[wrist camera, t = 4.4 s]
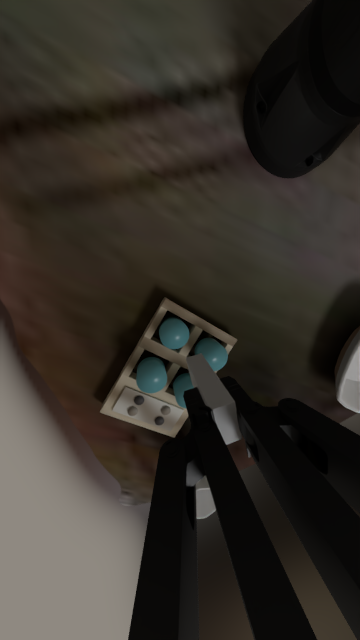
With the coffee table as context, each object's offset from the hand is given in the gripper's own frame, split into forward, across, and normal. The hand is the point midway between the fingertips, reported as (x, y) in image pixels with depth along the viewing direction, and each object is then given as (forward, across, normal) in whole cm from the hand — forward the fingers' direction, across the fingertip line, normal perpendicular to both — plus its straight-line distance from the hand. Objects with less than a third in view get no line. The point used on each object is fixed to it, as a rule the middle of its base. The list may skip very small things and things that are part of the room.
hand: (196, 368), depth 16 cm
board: (+14, -3, -7) cm, 16 cm away
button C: (+12, -6, -5) cm, 14 cm away
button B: (+12, +4, -5) cm, 14 cm away
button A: (+14, -1, 0) cm, 14 cm away
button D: (+12, -1, -10) cm, 16 cm away
